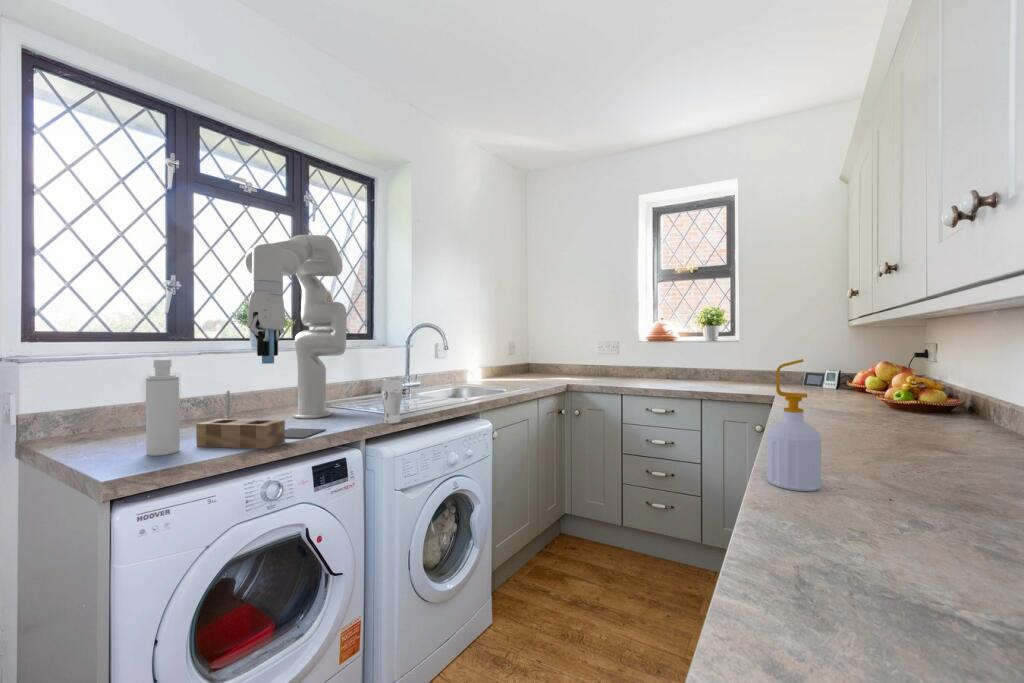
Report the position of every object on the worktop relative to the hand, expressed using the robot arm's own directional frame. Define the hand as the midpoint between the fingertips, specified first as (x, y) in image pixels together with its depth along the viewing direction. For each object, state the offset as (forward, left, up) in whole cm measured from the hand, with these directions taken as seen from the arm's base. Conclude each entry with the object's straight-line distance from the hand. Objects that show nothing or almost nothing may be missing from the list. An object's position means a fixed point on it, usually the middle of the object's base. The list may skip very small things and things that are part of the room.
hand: (267, 355), depth 127 cm
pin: (0, 0, -2) cm, 2 cm away
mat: (-11, +1, -24) cm, 26 cm away
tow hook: (-13, -21, -24) cm, 34 cm away
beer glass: (-33, +22, -24) cm, 47 cm away
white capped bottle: (+14, -19, -24) cm, 34 cm away
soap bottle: (+21, +126, -24) cm, 130 cm away
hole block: (+3, -6, -24) cm, 25 cm away
